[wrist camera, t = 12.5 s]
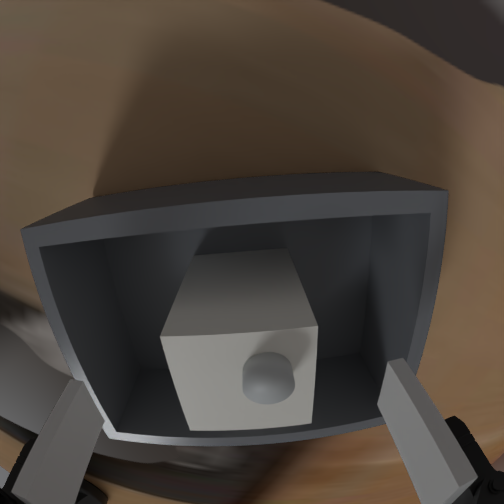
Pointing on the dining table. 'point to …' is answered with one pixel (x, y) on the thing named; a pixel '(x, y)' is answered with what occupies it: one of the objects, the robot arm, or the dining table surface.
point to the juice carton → (242, 342)
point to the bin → (238, 240)
